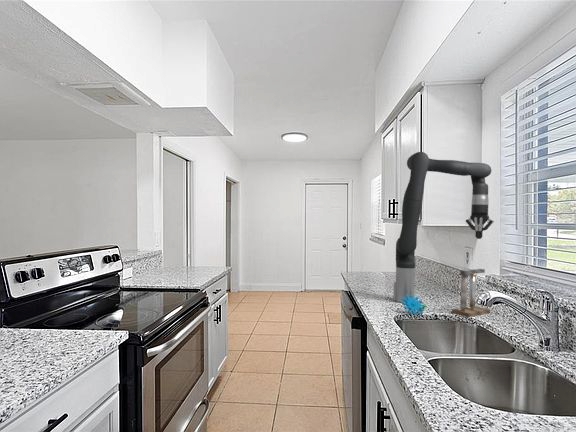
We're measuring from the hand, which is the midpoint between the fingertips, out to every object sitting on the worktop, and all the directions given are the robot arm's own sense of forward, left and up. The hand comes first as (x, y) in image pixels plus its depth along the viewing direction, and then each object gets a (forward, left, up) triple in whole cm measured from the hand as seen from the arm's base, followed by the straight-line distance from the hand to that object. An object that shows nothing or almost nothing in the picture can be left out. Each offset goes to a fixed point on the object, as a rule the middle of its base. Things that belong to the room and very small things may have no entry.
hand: (478, 238), depth 187 cm
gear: (-15, -41, -33) cm, 55 cm away
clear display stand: (+3, -21, -33) cm, 39 cm away
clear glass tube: (+3, -20, -31) cm, 37 cm away
